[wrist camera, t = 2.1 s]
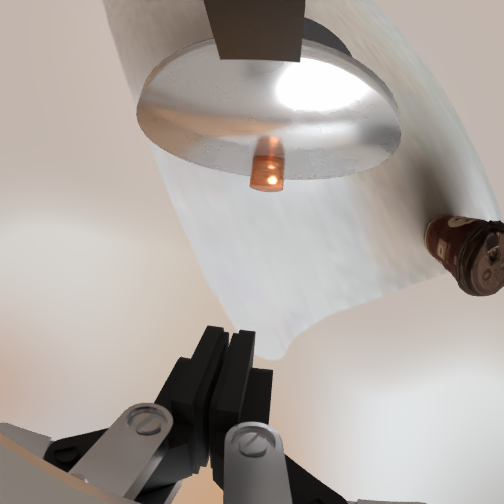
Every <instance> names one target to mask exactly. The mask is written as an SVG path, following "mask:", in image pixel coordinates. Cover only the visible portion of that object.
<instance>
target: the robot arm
mask: <svg viewBox="0 0 504 504" xmlns="http://www.w3.org/2000/svg"><path fill="white" fill-rule="evenodd" d="M254 344H255V331H246V330H240V331H239V334H237V333H233V336H232V338H231V342H230V345H229V333H228V332H224V328H222V327H215V326H207V328H206V330H205V332H204V334H203V336H202V337H201V340H200V342H199V344H198V346H197V348H196V350H195V352H194V354H193V356H192V358H191V359H189V358H183V357H180V358H179V359H178V361H177V362H176V364H175V366H174V368H173V370H172V372H171V373H170V375H169V377H168V379H167V381H166V382H165V384H164V386H163V388H162V390H161V391H160V393H159V395H158V397H157V399H156V400H155V402H154V403H140V404H136V405H133V406H131V407H129V408H128V409H127V410H125V411H124V412H123V413H122V415H121V416H120V417H119V418H118V419H117V420H116V421H115V422H114V423H113V424H112V425H111V427H110V428H107V429H102V430H99V431H94V432H90V433H86V434H82V435H77V436H73V437H68V438H63V439H60V440H57V441H53V440H52V438H51V437H48V436H45V435H41V434H38V433H35V432H32V431H28V430H25V429H23V428H20V427H17V426H14V425H11V424H8V423H0V504H171V503H172V501H173V499H174V497H175V496H176V494H177V492H178V490H179V489H180V487H181V485H182V482H183V479H184V478H187V477H189V476H192V474H193V473H194V474H198V473H199V469H200V466H203V467H206V466H207V463H208V460H209V456H210V461H211V468H213V480H214V481H215V482H216V484H217V485H218V486H219V487H220V488H221V489H222V490H223V491H224V495H223V504H426V503H421V502H388V501H371V500H360V499H358V500H357V502H352V501H346V500H345V499H344V498H343V497H342V496H341V495H339V494H338V493H336V492H335V491H333V490H331V489H330V488H329V487H327V486H326V485H325V484H323V483H322V482H321V481H319V480H318V479H316V478H315V477H314V476H312V475H311V474H310V473H308V472H307V471H306V470H305V469H303V468H302V467H301V466H299V465H298V464H297V463H295V462H294V461H293V460H291V459H290V458H289V457H288V456H287V455H285V454H284V449H283V443H282V439H281V436H280V435H279V433H278V432H277V431H276V430H275V429H274V428H272V427H271V426H269V425H268V424H269V412H270V402H271V390H272V378H273V377H272V376H273V370H268V369H258V368H252V365H253V355H254Z"/></svg>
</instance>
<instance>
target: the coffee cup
mask: <svg viewBox="0 0 504 504" xmlns="http://www.w3.org/2000/svg"><path fill="white" fill-rule="evenodd" d="M424 241H425V247H426V249H427V250H428V252H429V253H430V254H431V255H432V256H433V257H434V258H435V259H436V260H437V261H438V262H439V263H440V264H442V265H443V266H444V268H445V269H446V270H448V271H449V272H450V273H451V274H452V275H453V276H454V277H455V279H456V281H457V282H458V285H459V287H460V288H461V289H462V290H463V291H464V292H465V293H467V294H469V295H472V296H489V295H492V294H495V293H496V292H497V291H499V289H501V288H502V287H503V286H504V223H502V222H501V221H500V220H499V221H494V222H493V221H491V220H490V221H489V222H487V221H485V220H481V219H474V218H467V217H461V216H456V217H455V216H451V215H442V216H439V217H436V218H435V219H434V220H433V221H431V222H430V223H429V224H428V227H427V230H426V232H425V238H424Z"/></svg>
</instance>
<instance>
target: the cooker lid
mask: <svg viewBox="0 0 504 504" xmlns="http://www.w3.org/2000/svg"><path fill="white" fill-rule="evenodd" d="M204 4H205V7H206V11H207V14H208V18H209V21H210V25H211V28H212V32H213V36H214V38H212V39H209V40H205V41H202V42H199V43H195V44H192V45H190V46H188V47H186V48H184V49H181V50H179V51H177V52H175V53H174V54H172V55H171V56H169V57H168V58H166V59H165V60H163V61H162V62H161V63H160V64H159V65H158V66H157V67H156V68H155V69H154V70H153V71H152V72H151V73H150V75H149V76H148V78H147V79H146V81H145V84H144V86H143V89H142V92H141V95H140V98H139V102H138V105H137V114H136V115H137V120H138V123H139V126H140V128H141V129H142V131H143V132H144V134H145V135H146V136H147V137H148V138H149V139H150V140H151V141H152V142H153V143H155V144H156V145H157V146H159V147H160V148H162V149H163V150H165V151H167V152H169V153H171V154H173V155H175V156H177V157H179V158H181V159H184V160H186V161H189V162H192V163H195V164H198V165H201V166H204V167H208V168H211V169H215V170H219V171H224V172H229V173H233V174H239V175H245V176H251V178H250V187H251V188H253V189H255V190H259V191H264V192H278V191H281V190H283V182H284V179H290V180H309V179H326V178H335V177H342V176H347V175H352V174H356V173H360V172H363V171H366V170H369V169H371V168H373V167H375V166H378V165H379V164H381V163H383V162H384V161H386V160H387V159H388V158H389V157H390V156H391V155H392V154H393V153H394V152H395V150H396V149H397V147H398V145H399V142H400V136H401V129H400V119H399V112H398V107H397V103H396V101H395V99H394V97H393V94H392V93H391V91H390V90H389V89H388V87H387V86H386V84H385V83H384V82H383V81H382V80H381V79H380V78H379V77H378V76H377V75H376V74H375V73H374V72H373V71H371V70H370V69H369V68H367V67H366V66H365V65H363V64H362V63H360V62H359V61H357V60H356V59H354V58H352V57H350V56H348V55H346V54H344V53H342V52H340V51H338V50H336V49H334V48H331V47H328V46H325V45H323V44H320V43H317V42H314V41H310V40H305V39H302V37H303V25H304V13H305V0H204Z"/></svg>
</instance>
